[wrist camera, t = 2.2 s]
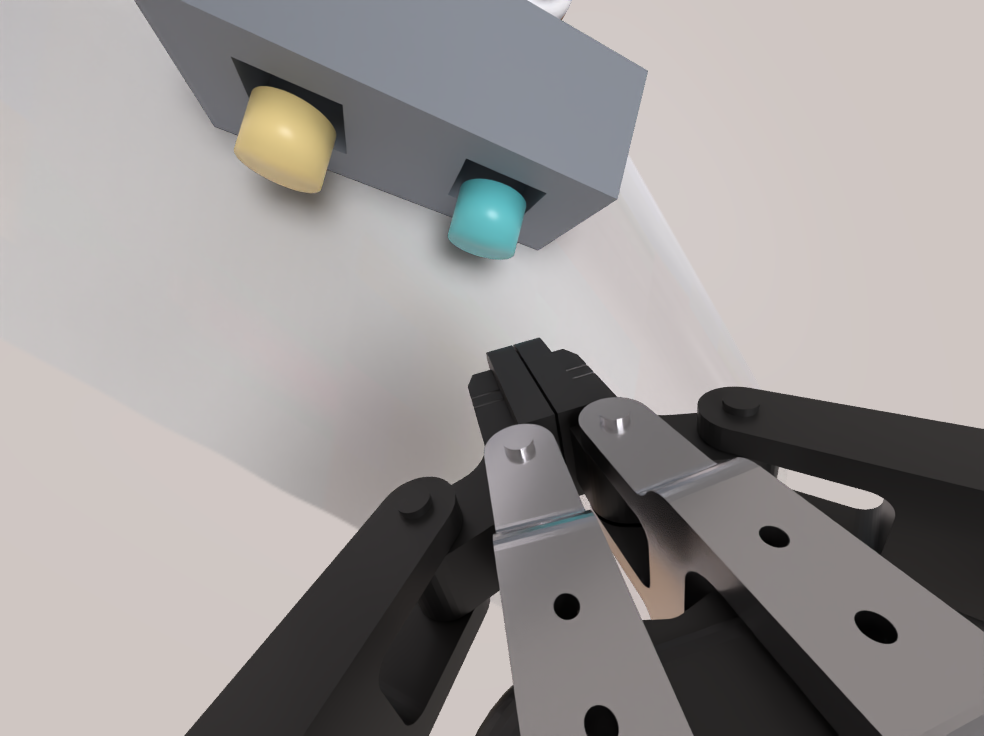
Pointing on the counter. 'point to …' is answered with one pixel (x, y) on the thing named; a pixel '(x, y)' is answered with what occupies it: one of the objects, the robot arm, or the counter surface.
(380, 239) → the counter surface
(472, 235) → the teal button
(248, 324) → the counter surface
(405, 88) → the console
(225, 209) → the counter surface
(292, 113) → the mustard button
